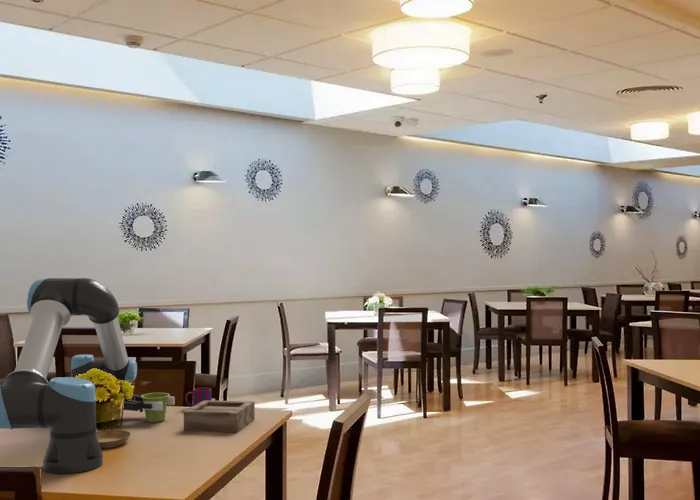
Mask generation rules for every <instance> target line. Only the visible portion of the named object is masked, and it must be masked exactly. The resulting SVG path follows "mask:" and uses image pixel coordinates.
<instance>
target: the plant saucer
mask: <svg viewBox="0 0 700 500" xmlns="http://www.w3.org/2000/svg"><path fill="white" fill-rule="evenodd" d="M96 436H97V439H98V442H99V445H100V448H101V449H107V448H116V447H118V446H121V445H124V443H125V442H127V440H128V439H129V438H130V437H131V436H132V433H131V431H128V430H124V429H105V431H103V430H96Z"/></svg>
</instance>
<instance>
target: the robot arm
mask: <svg viewBox="0 0 700 500" xmlns="http://www.w3.org/2000/svg"><path fill="white" fill-rule="evenodd" d="M27 296H28V297H27V298H26V307H27V311H28V313H29V315H30V316H31V318H32V319H31V322H30V326H29V329H28V332H27V334H26V338H25V340H24V344H23V346H22V348H21V352H20V354H19V357H18V360H17V363H16V366H15V368H14V371H12V372H10V373H9V374H7V376H6V377H5V379H4V382H3V384H1V383H0V429H2V430H3V429H5V430H6V429H8V430H14V429H44V428H45V429H47V428H48V429H49V441H48V445H47V448H46V451H45V453H44V455H43V460H42V469H43V471H45V472H46V473H51V474H75V473H81V472H87V471H90V470H93V469H96V468H99V467H101V466H102V465H103V464H104V454H103V450H102V448H100V445H99V442H98V439H97V436H96V431H97V412H96V400H97V399H96V393H95V390H96V386H95V383H94V384H93V383H92V382H91V381H89V380H86V379H82V378H74V377H75V376H76V375H78V374H83V373H86V372H87V371H88V370H90V369H92V368H97V369H100V370H103V371H105V372H107V373H110V374H112V375H114V376H115V377H116V378H117V379H120V380H126V381H125V382H133V381H135V380H136V378H137V374H138V363H137V361H136V360H135V359H130V358H129V357H128V352H127V348H126V346H125V341H124V337H123V333H122V330H121V325H120V322H119V321H120V320H119V314H120V308H119V304H118V301H117V299H116V297H115V296H114V294H113V293H112V292H111V291H110V289H108V287H106V286H105V285H104V284H103V283H101V282H99V281H97V280H95V279H94V278H93V279H92V278H86V277H80V278H75V277H73V278H71V277H70V278H69V277H67V278H64V277H61V278H56V277H55V278H54V277H47V278H40V279H37V280H35V281H33V283H32V284H31V285H30V287H29V290H28V293H27ZM73 316H87V317H88V320H90V322H91V323H93V326H94V329H95V331H96V335H97V339H98V342H99V345H100V349H101V352H102V355H103V360H102V359H101V360H100V359H95V358H94V355H93V354H86V353H84V354H76V355H74V356H72V358H71V361H70V363H71V364H70V376H64V377H60V376H58V377H53V378H51V379H50V380H49V381H48V379H47V377H48V374H49V371H50V367H51V363H52V361H53V357H54V355H55V352H56V347H57V345H58V341H59V338H60V335H61V332H62V329H63V327H64V326H66V325H67V324H68V323H69V322H70V321H71V317H73ZM142 395H143V394H133V397H132V399H130V400H125V402H124V408H123V410H122V411H133V412H134V411H135V412H138V411H139V413H143V412H144V411H145V410H163V402H151V401H144V402H143V399H142V398H141V396H142ZM175 399H176V398H175V396H169V397H168V401H167V405H168V406H175V403H176V401H175Z"/></svg>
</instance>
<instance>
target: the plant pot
mask: <svg viewBox="0 0 700 500" xmlns="http://www.w3.org/2000/svg"><path fill="white" fill-rule="evenodd" d="M141 395H142V396H141V398H142V399H143V402H144V401H151V402H163V410H144V414H145V421H146V422H148V423H158V422H164V421H165V420H166V413H167V401H168V397H171V395H170V393H167V392H149V393H144V394H141Z"/></svg>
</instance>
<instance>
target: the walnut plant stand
mask: <svg viewBox="0 0 700 500" xmlns="http://www.w3.org/2000/svg"><path fill="white" fill-rule="evenodd" d="M255 412H256V411H255V401H252V400H251V401H243V400H216V399H215V400H213V399H211V400H204V401H202V402H200V403H198V404H196V405H194V406H190V407H189V408H187V409H185V410H184V411H183V431H184V432H187V431H189V432H215V433H217V432H218V433H239V432H240V431H241V430H243V429H245V427H247V426H249V423H250V424H251V423H252V422H254V421H255V416H256V415H255V414H256V413H255ZM253 420H254V421H253Z"/></svg>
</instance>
